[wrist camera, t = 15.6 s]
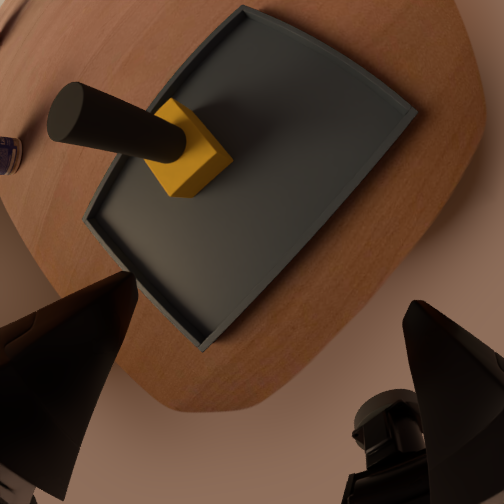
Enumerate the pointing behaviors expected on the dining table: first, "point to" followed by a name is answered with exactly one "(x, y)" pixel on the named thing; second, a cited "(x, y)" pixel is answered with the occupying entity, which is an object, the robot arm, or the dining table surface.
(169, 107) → the sponge wand
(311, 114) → the tray
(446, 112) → the dining table surface
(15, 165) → the pill bottle
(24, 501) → the robot arm
